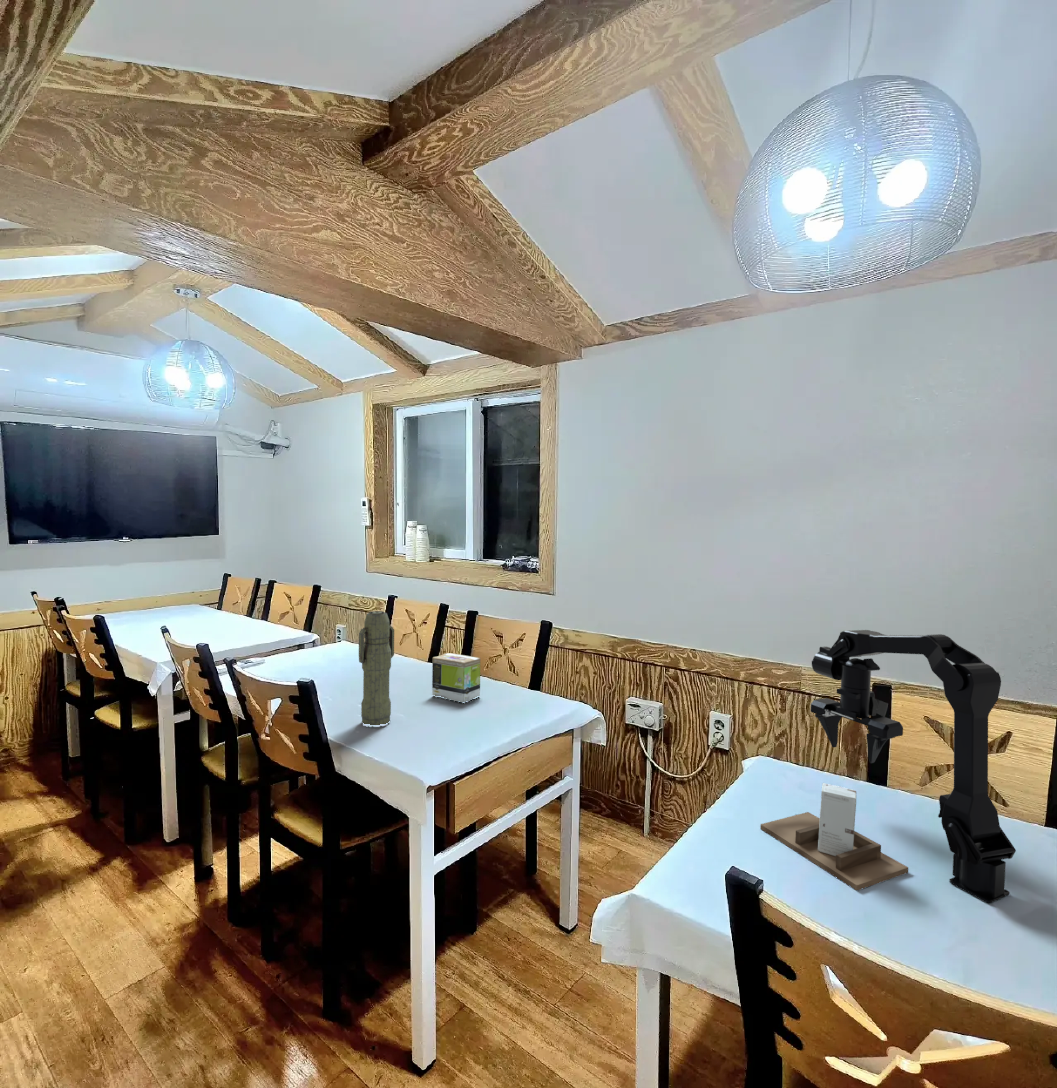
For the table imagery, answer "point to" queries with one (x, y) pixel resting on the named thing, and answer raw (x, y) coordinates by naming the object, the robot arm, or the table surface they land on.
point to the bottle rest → (850, 866)
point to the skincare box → (836, 819)
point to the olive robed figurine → (376, 667)
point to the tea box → (456, 677)
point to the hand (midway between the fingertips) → (852, 754)
